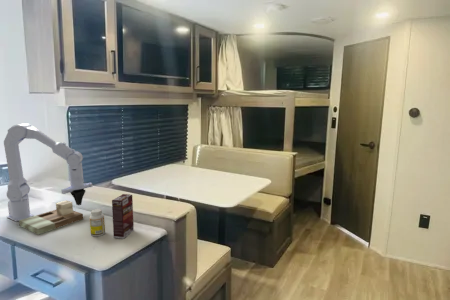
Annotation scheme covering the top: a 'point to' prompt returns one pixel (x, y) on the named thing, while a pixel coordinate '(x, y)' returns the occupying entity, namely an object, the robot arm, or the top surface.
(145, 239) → the top surface
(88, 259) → the top surface
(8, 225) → the top surface
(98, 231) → the supplement bottle
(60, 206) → the cream block
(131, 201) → the supplement box
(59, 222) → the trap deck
